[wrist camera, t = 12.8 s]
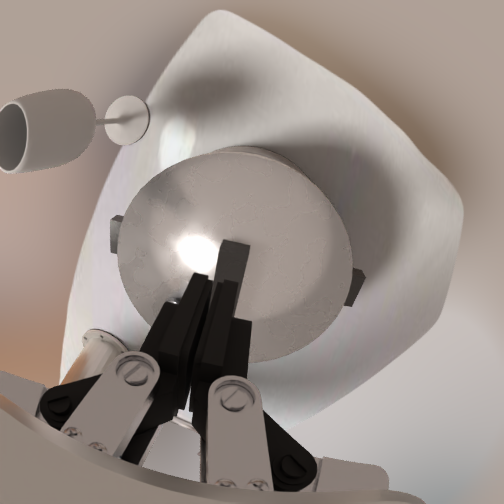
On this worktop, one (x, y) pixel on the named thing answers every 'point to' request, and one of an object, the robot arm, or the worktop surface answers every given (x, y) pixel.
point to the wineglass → (62, 128)
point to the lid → (239, 246)
